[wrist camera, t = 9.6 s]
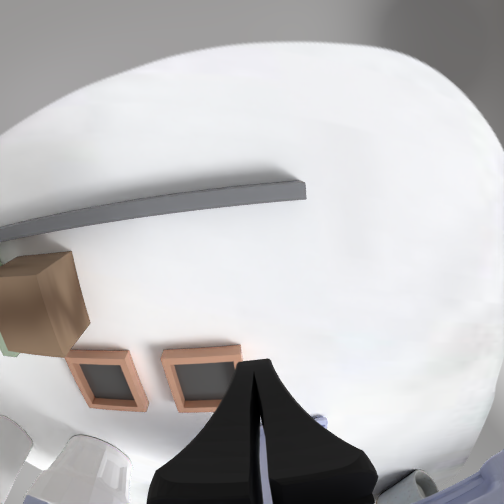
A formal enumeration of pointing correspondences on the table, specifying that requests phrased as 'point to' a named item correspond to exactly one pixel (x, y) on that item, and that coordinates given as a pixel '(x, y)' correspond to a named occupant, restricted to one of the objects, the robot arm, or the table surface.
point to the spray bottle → (11, 454)
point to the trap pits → (176, 369)
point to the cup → (85, 475)
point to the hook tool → (154, 211)
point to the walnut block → (41, 304)
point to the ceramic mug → (409, 489)
